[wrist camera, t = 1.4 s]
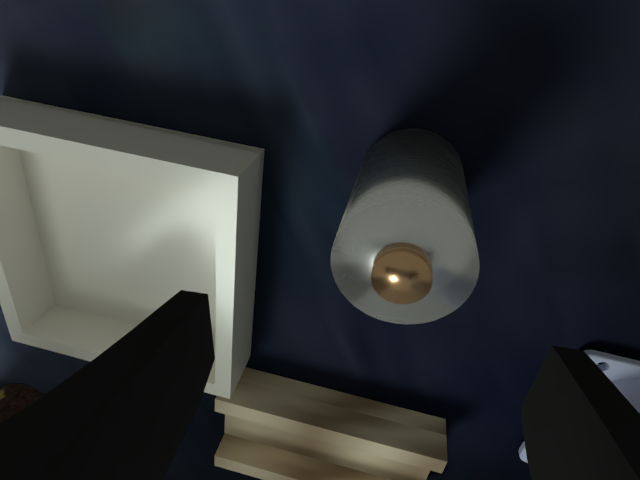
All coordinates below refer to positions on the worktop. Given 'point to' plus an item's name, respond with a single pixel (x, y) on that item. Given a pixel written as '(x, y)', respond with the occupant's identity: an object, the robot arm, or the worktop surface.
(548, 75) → the worktop surface
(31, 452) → the robot arm
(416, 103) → the worktop surface
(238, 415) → the trough
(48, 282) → the dish
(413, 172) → the cylinder
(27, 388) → the book
